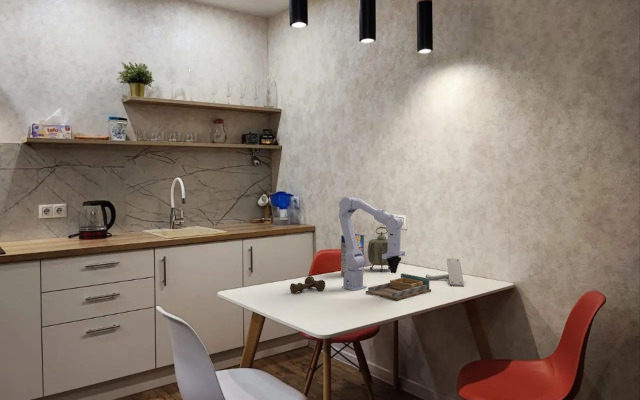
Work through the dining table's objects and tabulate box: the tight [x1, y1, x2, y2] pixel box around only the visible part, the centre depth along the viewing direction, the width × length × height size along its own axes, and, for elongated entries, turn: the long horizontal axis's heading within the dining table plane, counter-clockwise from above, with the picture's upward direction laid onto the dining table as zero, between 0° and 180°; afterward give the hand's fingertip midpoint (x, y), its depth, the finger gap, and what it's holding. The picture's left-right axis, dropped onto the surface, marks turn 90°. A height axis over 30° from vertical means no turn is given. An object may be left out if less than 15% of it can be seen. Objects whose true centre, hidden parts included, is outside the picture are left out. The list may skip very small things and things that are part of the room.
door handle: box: [425, 257, 465, 287], centre depth 247 cm, size 18×8×20 cm
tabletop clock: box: [367, 226, 390, 272], centre depth 274 cm, size 14×9×25 cm, turn 94°
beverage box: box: [340, 233, 365, 277], centre depth 260 cm, size 7×11×22 cm, turn 135°
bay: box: [365, 272, 432, 302], centre depth 223 cm, size 26×18×6 cm
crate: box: [389, 277, 423, 290], centre depth 227 cm, size 10×12×3 cm
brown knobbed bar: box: [289, 275, 326, 295], centre depth 225 cm, size 6×10×20 cm
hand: (393, 272), depth 220 cm, fingers closed
